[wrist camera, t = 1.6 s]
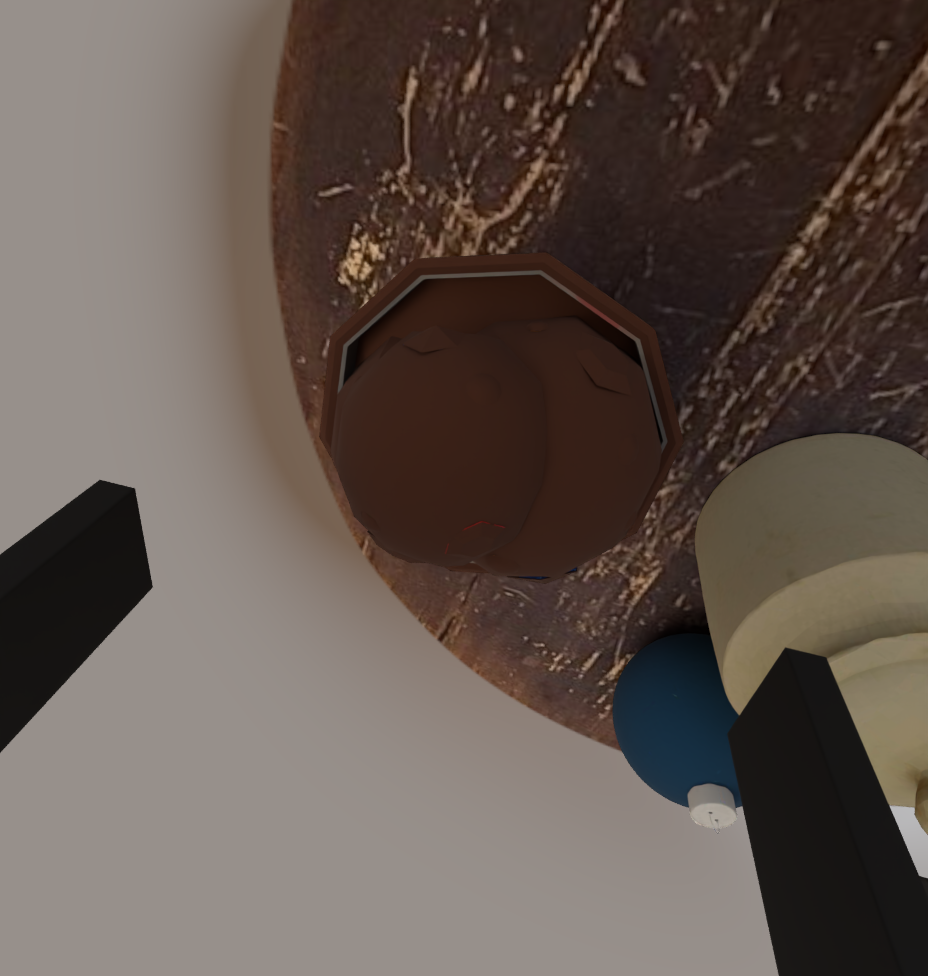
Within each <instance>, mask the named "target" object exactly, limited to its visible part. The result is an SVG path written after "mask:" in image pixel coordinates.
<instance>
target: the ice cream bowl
mask: <svg viewBox="0 0 928 976" xmlns="http://www.w3.org/2000/svg"><path fill="white" fill-rule="evenodd" d="M319 437H320V439H321V441H322V442H323V444H324V446H325V448H326V449H327V451H328V453H329V455H330V456H331V458H332V460H333V463H334V466H335V468H336V469H337V471H338V474H339V477H340V480H341V482H342V485H343V488H344V490H345V493H346V496H347V498H348V501H349V504H350V506H351V509H352V512H353V514H354V517H355V518H356V519H357V520H358V521H359V522H360V523H361V524H362V525H363V526H364V527H365V528H366V529H367V530H368V531H367V532H368V533H369V535H370V536H371V537H372V539H373V540H374V541H375V543H376V544H377V545H378V546H379V547H381V548H382V549H384V550H385V551H386V552H388V553H389V554H391V555H393V556H395V557H397V558H400V559H402V560H405V561H407V562H410V563H426V562H427V563H431V564H435V565H438V566H442V567H445V568H447V569H449V570H450V571H459V572H476V573H491V574H492V575H494V576H507V577H510V578H515V579H521V580H526V581H532V582H537V583H543V584H546V583H549V582H551V581H554V580H556V579H559V578H561V577H564V576H566V575H569V574H571V573H574V572H576V571H577V567H578V566H580V565H582V564H584V563H585V562H587V561H589V560H591V559H593V558H595V557H597V556H598V555H600V554H602V553H604V552H606V551H608V550H610V549H611V548H613V547H614V546H615V545H616V544H617V543H618V542H620V541H622V540H624V539H626V538H628V537H630V536H632V535H634V534H636V533H637V531H638V530H639V528H640V526H641V524H642V522H643V520H644V518H645V516H646V514H647V512H648V510H649V508H650V506H651V504H652V502H653V500H654V499H655V497H656V495H657V493H658V491H659V489H660V487H661V485H662V483H663V481H664V479H665V477H666V475H667V473H668V471H669V469H670V468H671V466H672V464H673V462H674V460H675V458H676V456H677V454H678V452H679V450H680V448H681V446H682V444H683V442H684V441H683V437H682V433H681V430H680V426H679V422H678V418H677V414H676V410H675V406H674V402H673V398H672V394H671V390H670V387H669V383H668V379H667V375H666V371H665V367H664V363H663V359H662V355H661V351H660V348H659V344H658V340H657V336H656V332H655V329H653V328H652V327H651V326H650V325H648V324H647V323H646V322H644V321H643V320H642V319H640V318H639V317H637V316H636V315H635V314H633V313H632V312H630V311H629V310H628V309H626V308H625V307H623V306H622V305H621V304H619V303H618V302H616V301H615V300H614V299H612V298H611V297H609V296H608V295H606V294H605V293H604V292H602V291H601V290H599V289H598V288H597V287H595V286H594V285H592V284H591V283H590V282H588V281H587V280H585V279H584V278H582V277H581V276H580V275H578V274H577V273H575V272H574V271H573V270H571V269H570V268H568V267H567V266H566V265H564V264H563V263H561V262H560V261H559V260H557V259H556V258H554V257H553V256H551V255H550V254H549V253H547V252H541V253H520V254H499V255H478V256H457V257H436V258H421V259H414V260H413V261H412V262H411V263H409V264H408V265H407V266H406V267H405V268H404V269H403V270H402V271H401V272H400V273H399V274H398V275H396V276H395V277H394V278H393V279H392V280H391V281H390V282H389V283H388V284H387V285H386V286H385V287H383V288H382V289H381V290H380V291H379V292H378V293H377V294H376V295H375V296H374V297H373V298H372V299H370V300H369V301H368V302H367V303H366V304H365V305H364V306H363V307H362V308H361V309H360V310H359V311H357V312H356V313H355V314H354V315H353V316H352V317H351V318H350V319H349V320H348V321H347V322H346V323H344V324H343V325H342V326H341V327H340V328H339V329H338V330H337V331H336V332H335V333H334V334H332V335H331V336H330V343H329V353H328V362H327V371H326V380H325V390H324V399H323V408H322V417H321V427H320V436H319Z"/></svg>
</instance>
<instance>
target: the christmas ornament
mask: <svg viewBox="0 0 928 976" xmlns="http://www.w3.org/2000/svg"><path fill="white" fill-rule="evenodd" d="M738 717H739V715H738V714H737V712H736V711H735V710H734V708H733V707H732V705H731V703H730V702H729V700H728V697H727V695H726V692H725V689H724V686H723V682H722V679H721V675H720V671H719V667H718V663H717V659H716V655H715V651H714V647H713V642H712V638H711V636H709V635H704V634H695V633H686V634H676V635H671V636H667V637H664V638H661V639H658V640H656V641H654V642H652V643H650V644H649V645H647V646H646V647H644V648H643V649H641V650H640V651H639V652H638V653H637V654H636V655H635V656H634V657H633V658H632V659H631V660H630V661H629V662H628V664H627V665H626V667H625V668H624V670H623V672H622V673H621V675H620V677H619V680H618V683H617V685H616V689H615V693H614V698H613V722H614V728H615V733H616V737H617V740H618V743H619V745H620V747H621V750H622V752H623V754H624V756H625V758H626V759H627V761H628V763H629V764H630V766H631V767H632V768H633V770H634V771H635V772H636V774H637V775H638V776H639V777H640V778H641V779H642V780H643V781H644V782H645V783H646V784H647V785H648V786H649V787H651V788H652V789H653V790H654V791H656V792H657V793H659V794H660V795H662V796H663V797H665V798H667V799H668V800H670V801H672V802H675V803H677V804H680V805H682V806H685V807H689V810H690V815H691V818H692V819H693V820H694V821H695V822H696V823H697V824H699V825H701V826H705V827H709V828H723V827H728V826H730V825H732V824H733V823H734V822H735V821H736V819H737V813H736V808H737V807H740V806H742V801H741V796H740V792H739V787H738V782H737V778H736V773H735V768H734V764H733V759H732V754H731V750H730V745H729V740H728V736H727V733H728V732H729V730H730V729H731V727H732V726H733V724H734V723H735V721H736V720H737V718H738ZM714 830H715V829H714ZM715 831H716V830H715ZM716 833H717V832H716ZM718 833H719V832H718Z"/></svg>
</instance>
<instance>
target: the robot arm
mask: <svg viewBox="0 0 928 976" xmlns="http://www.w3.org/2000/svg"><path fill="white" fill-rule="evenodd" d="M152 587H153V586H152V580H151V575H150V569H149V564H148V558H147V553H146V547H145V542H144V536H143V531H142V525H141V519H140V514H139V508H138V503H137V498H136V492H135V489H134V488H131V487H127V486H123V485H118V484H115V483H110V482H107V481H102V480H99V481H98V482H96V483H95V484H94V485H92V486H91V487H90V488H88V489H87V490H86V491H84V492H83V493H82V494H80V495H79V496H78V497H77V498H75V499H74V500H72V501H71V502H70V503H68V504H67V505H66V506H64V507H63V508H62V509H61V510H59V511H58V512H56V513H55V514H54V515H52V516H51V517H50V518H48V519H47V520H46V521H44V522H43V523H42V524H40V525H39V526H38V527H36V528H35V529H34V530H32V531H31V532H30V533H28V534H27V535H26V536H24V537H23V538H22V539H20V540H19V541H18V542H16V543H15V544H14V545H12V546H11V547H10V548H8V549H7V550H6V551H4V552H3V553H2V554H1V555H0V752H1V751H2V750H3V749H4V748H5V747H6V746H7V745H8V744H9V742H10V741H11V740H12V739H13V738H14V737H15V736H16V735H17V734H18V733H19V732H20V731H21V730H22V728H23V727H24V726H25V725H26V724H27V723H28V722H29V721H30V720H31V719H32V717H34V715H35V714H36V713H37V712H38V711H39V710H40V709H41V708H42V707H43V706H44V705H45V704H46V702H47V701H48V700H49V699H50V698H51V697H52V696H53V695H54V694H55V693H56V691H57V690H58V689H59V688H60V687H61V686H62V685H63V684H64V683H65V682H66V681H67V680H68V679H69V677H70V676H71V675H72V674H73V673H74V672H75V671H76V670H77V669H78V668H79V667H80V666H81V665H82V663H83V662H84V661H85V660H86V659H87V658H88V657H89V655H91V654H92V653H93V651H94V650H95V649H96V648H97V647H98V646H99V645H100V644H101V643H102V642H103V641H104V640H105V638H106V637H107V636H108V635H109V634H110V633H111V632H112V631H113V630H114V629H115V627H116V626H117V625H118V624H119V623H120V622H121V621H122V620H123V619H124V618H125V617H126V616H127V615H128V613H129V612H130V611H131V610H132V609H133V608H134V607H135V606H136V605H137V604H138V603H139V602H140V600H141V599H142V598H143V597H144V596H145V595H146V594H147V593H148V592H149V591H150V590H151V589H152ZM727 736H728V740H729V745H730V750H731V754H732V759H733V764H734V768H735V773H736V778H737V782H738V787H739V792H740V796H741V801H742V806H743V810H744V815H745V820H746V825H747V829H748V834H749V839H750V843H751V848H752V852H753V857H754V861H755V866H756V871H757V876H758V880H759V885H760V890H761V894H762V899H763V904H764V908H765V913H766V918H767V923H768V927H769V932H770V936H771V941H772V946H773V950H774V955H775V960H776V964H777V969H778V974H779V976H928V878H924V877H921V876H919V875H918V872H917V870H916V867H915V865H914V863H913V861H912V858H911V856H910V853H909V851H908V849H907V846H906V844H905V842H904V839H903V837H902V835H901V832H900V830H899V827H898V825H897V823H896V821H895V818H894V816H893V814H892V811H891V809H890V806H889V804H888V802H887V799H886V797H885V794H884V792H883V790H882V787H881V785H880V783H879V780H878V778H877V776H876V773H875V771H874V769H873V766H872V764H871V762H870V759H869V757H868V754H867V752H866V750H865V747H864V745H863V743H862V740H861V738H860V736H859V733H858V731H857V729H856V726H855V724H854V721H853V719H852V717H851V714H850V712H849V710H848V707H847V705H846V703H845V700H844V698H843V696H842V693H841V691H840V689H839V686H838V684H837V681H836V679H835V677H834V674H833V672H832V670H831V667H830V665H829V663H828V660H827V658H826V657H823V656H819V655H815V654H811V653H807V652H803V651H799V650H795V649H791V648H786V647H785V648H784V650H783V651H782V653H781V654H780V656H779V657H778V659H777V660H776V662H775V663H774V665H773V666H772V668H771V669H770V671H769V672H768V674H767V675H766V677H765V678H764V679H763V681H762V682H761V684H760V685H759V687H758V688H757V690H756V691H755V693H754V694H753V696H752V697H751V699H750V700H749V702H748V703H747V705H746V706H745V708H744V709H743V711H742V712H741V714H740V715H739V717H738V718H737V720H736V721H735V723H734V724H733V726H732V727H731V729H730V730H729V732H728V733H727Z"/></svg>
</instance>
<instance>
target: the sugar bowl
mask: <svg viewBox="0 0 928 976" xmlns="http://www.w3.org/2000/svg"><path fill="white" fill-rule="evenodd" d="M695 553H696V558H697V563H698V569H699V575H700V581H701V587H702V593H703V599H704V604H705V610H706V615H707V620H708V625H709V630H710V634H711V638H712V642H713V647H714V651H715V655H716V659H717V663H718V667H719V671H720V675H721V679H722V682H723V686H724V689H725V692H726V695H727V697H728V700H729V702H730V703H731V705H732V707H733V708H734V710H735V711H736V712H737V714H738V715H740V714H741V712H742V711H743V709H744V708H745V706H746V705H747V703H748V702H749V700H750V699H751V697H752V696H753V694H754V693H755V691H756V690H757V688H758V687H759V685H760V684H761V682H762V681H763V679H764V678H765V677H766V675H767V674H768V672H769V671H770V669H771V668H772V666H773V665H774V663H775V662H776V660H777V659H778V657H779V656H780V654H781V653H782V651H783V650H784V648H785V647H786V648H791V649H795V650H799V651H803V652H807V653H811V654H815V655H819V656H823V657H826V658H827V660H828V663H829V665H830V667H831V670H832V672H833V674H834V677H835V679H836V681H837V684H838V686H839V689H840V691H841V693H842V696H843V698H844V700H845V703H846V705H847V707H848V710H849V712H850V714H851V717H852V719H853V721H854V724H855V726H856V729H857V731H858V733H859V736H860V738H861V740H862V743H863V745H864V747H865V750H866V752H867V754H868V757H869V759H870V762H871V764H872V766H873V769H874V771H875V773H876V776H877V778H878V780H879V783H880V785H881V787H882V790H883V792H884V794H885V797H886V799H887V802H888V804H889V805H896V806H905V807H914V808H915V816H916V818H917V820H918V822H919V824H920V825H921V827H922V829H923V830H924V831H925V832H926V833H927V835H928V460H927V459H925V458H924V457H923V456H921V455H920V454H918V453H917V452H915V451H914V450H912V449H910V448H908V447H905V446H903V445H901V444H899V443H896V442H893V441H890V440H887V439H884V438H880V437H877V436H872V435H863V434H849V433H833V434H822V435H815V436H810V437H805V438H800V439H795V440H791V441H788V442H785V443H782V444H779V445H777V446H774V447H772V448H770V449H768V450H766V451H763V452H761V453H759V454H757V455H755V456H753V457H752V458H750V459H749V460H748V461H746V462H745V463H743V464H742V465H740V466H739V467H737V468H736V469H734V470H733V471H732V472H731V473H730V474H729V475H728V476H727V477H726V478H725V479H723V480H722V481H721V483H720V484H719V485H718V486H717V487H716V488H715V489H714V490H713V492H712V494H711V495H710V497H709V499H708V500H707V502H706V503H705V505H704V507H703V508H702V511H701V513H700V516H699V518H698V521H697V526H696V532H695Z"/></svg>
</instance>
